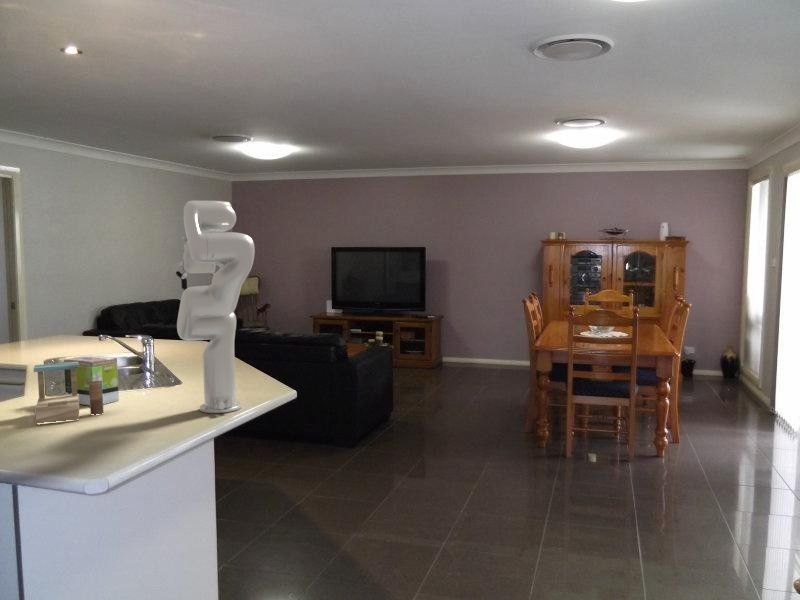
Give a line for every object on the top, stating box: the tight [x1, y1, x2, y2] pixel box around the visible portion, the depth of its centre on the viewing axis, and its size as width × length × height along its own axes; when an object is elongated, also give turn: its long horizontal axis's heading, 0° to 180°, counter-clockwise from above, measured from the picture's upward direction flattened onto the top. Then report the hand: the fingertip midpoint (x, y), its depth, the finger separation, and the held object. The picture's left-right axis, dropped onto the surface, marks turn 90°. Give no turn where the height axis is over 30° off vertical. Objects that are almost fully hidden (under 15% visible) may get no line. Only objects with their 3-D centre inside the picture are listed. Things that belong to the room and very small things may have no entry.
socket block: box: [33, 362, 80, 423], centre depth 200 cm, size 16×12×15 cm
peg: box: [89, 381, 104, 415], centre depth 203 cm, size 4×4×10 cm
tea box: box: [63, 355, 120, 406], centre depth 220 cm, size 15×10×15 cm, turn 59°
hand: (200, 290), depth 225 cm, fingers open, 9 cm apart
